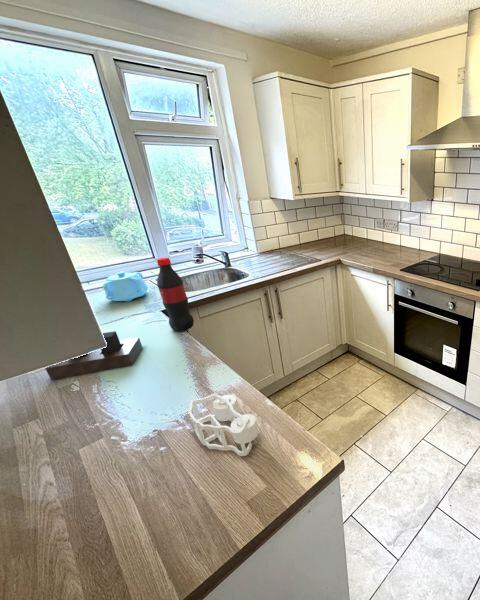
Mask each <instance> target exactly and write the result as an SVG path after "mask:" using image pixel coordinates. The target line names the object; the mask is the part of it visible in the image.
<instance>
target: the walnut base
mask: <svg viewBox="0 0 480 600" xmlns="http://www.w3.org/2000/svg"><path fill="white" fill-rule="evenodd" d="M119 341H120V344H121V346H122V348H121V349H120V351H117V352H111V353H105V354H103V353H102V350H101V349H100V350H97V351H94V352H91V353H89V354H86V355H83V356H80V357H78V358H74V359H70V360H68V361H65V362H61V363H59V364H56V365H52V366H49V367H47V366H46V367H47V368H46V367H45V371H46V373H47V375H48V376H49V379H50V380H51V381H54V380H59V379H65V378H72V377H76V376H81V375H88V374H93V373H99V372H105V371H109V370H114V369H115V370H116V369H120V368H126V367H131V366H133V365H134V363H135V362H136V361H137V359H138V357H139V355H140V353H141V351H142V350H143V345H142V342H141V339H140V337H139V336H138V337H137V336H136V337H132V338H125V339H124V338H123V339H119Z"/></svg>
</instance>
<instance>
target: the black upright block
mask: <svg viewBox="0 0 480 600" xmlns="http://www.w3.org/2000/svg"><path fill="white" fill-rule="evenodd" d="M102 333H103V335H104V338H105V340H106V342H107V347H106V348H103V349H101V350H102V353H103V354H105V353H111V352H117V351H120V349H121V348H122V346H121V344H120V341H119V340H120V339H119V336H118V333H117V331H116V330H114V331H108V332H102Z"/></svg>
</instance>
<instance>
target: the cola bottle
mask: <svg viewBox="0 0 480 600" xmlns="http://www.w3.org/2000/svg"><path fill="white" fill-rule="evenodd" d="M156 262H157V266H158V267H159V272H158V274H157V279H156V286H157V288H158V291H159V295H160V298H161V301H162V305H163V307H164V309H165V311H166V312H167V314H168V324H169V327H170V328H171V330H173V331H174V332H184V331H188V330H190V329H191V328H193V327H194V324H195V320H194V317H193V315H192V314H191V312H190V309H189V308H190V307H189V299H188V296H187V293H186V290H185V284H184V280H183V279H182V277H181V276H180V275H179V274H178V273H177V272H176V271H175V270H174V268H173V267H172V266H171V265H172V263H171V262H172V261H171V260H170V258H169V257H160V258H157V260H156Z"/></svg>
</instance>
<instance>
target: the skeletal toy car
mask: <svg viewBox="0 0 480 600" xmlns="http://www.w3.org/2000/svg"><path fill="white" fill-rule="evenodd" d="M214 399H215V400H214ZM212 400H214V401H213V403H212V408H213V412H214V414H212V413H209V414H207V415H205V416H203V417H201V415H200V411H199V409H198V405H199V404H204V403H207V402H210V401H212ZM187 412H188V415H189V417H190V420H191V422H192V423H191V424H192V426H193V429H194V432H195V435H196V437H197V439H198V440H199V442H200V443H201V445H203V446H206V447H207V448H208V449H209V450H218V451H224V452H226V451H232V452H234V453H235V454H237V456H239V457H246V456H248V455H249V453H250V452H251V450H252V447H253V446H252V445H253V444H252V441H254V440H255V439H256V438H257V437H258V435H259V426H258V423H257V418H256V416H255V415H254V414H250V413H246V414H245V413H244V414H241V413H240V407H239V402H238V398H237V396H235V395H234V394H224V395H222V396H221V395H219V394H218V393H212V394H210V395H207V396H205V397H204V396H203V397H201V398H194V399H192V400H191V401H190V402H189V408H188V409H187ZM228 421H229V422H230V426H228V425H221V424H220V422H228ZM206 422H210V423H211V424H205V423H206ZM203 431H213V433H212V434H211V435H210V436H208V437H206V438H205V434H204V432H203ZM225 432H228V433H229V434H230V435H232V437H233V441H234V442H235V443H236V444H238V445H240V448H241V450H239V449H238V447H236V446H235V445H232V444H228V443H227V439H226V436H225ZM216 439H217V440H218V441H219V442H220V444H217V443H210V442H212V441H214V440H216ZM246 444H248V445H247V447H246Z"/></svg>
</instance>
